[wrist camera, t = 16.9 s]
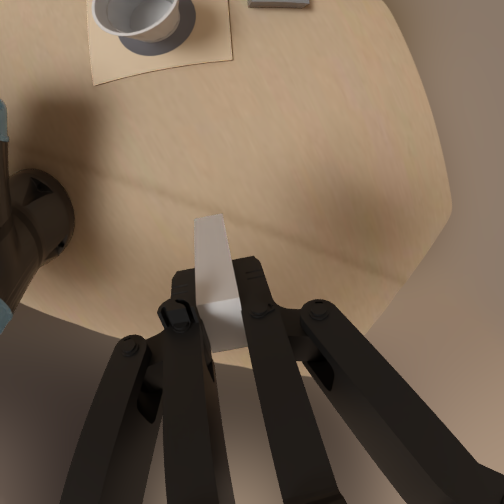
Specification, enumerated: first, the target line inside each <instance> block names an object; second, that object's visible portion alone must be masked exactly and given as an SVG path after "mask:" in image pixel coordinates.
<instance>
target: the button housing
mask: <svg viewBox="0 0 504 504" xmlns="http://www.w3.org/2000/svg"><path fill="white" fill-rule="evenodd" d="M308 4H309V0H248V7H291V8H303V7H305V6H306V5H308Z"/></svg>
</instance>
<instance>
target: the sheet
mask: <svg viewBox="0 0 504 504" xmlns="http://www.w3.org/2000/svg"><path fill="white" fill-rule="evenodd" d="M92 1H93V0H87V25H88V40H89V52H90V62H91V71H92V79H93V86H96V85H99V84H102V83H106V82H110V81H113V80H117V79H121V78H125V77H129V76H133V75H138V74H142V73H147V72H152V71H157V70H162V69H167V68H173V67H179V66H185V65H192V64H200V63H208V62H217V61H228V60H232V48H231V35H230V23H229V10H228V0H179V4H178V10H179V13H180V22H179V25H178V27H177V29H176V30H175V31H174V33H173V34H171V35H170V36H169V37H168V38H166V39H164V40H162V41H159V42H153V43H148V42H143V41H141V40H137V39H133V38H128V37H123V36H116V35H112V34H109V33H107V32H105V31H103V30H102V29H101V28H100V27H99V26H98V25H97V24H96V22H95V20H94V18H93V15H92Z"/></svg>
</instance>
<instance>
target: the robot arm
mask: <svg viewBox="0 0 504 504" xmlns="http://www.w3.org/2000/svg"><path fill="white" fill-rule="evenodd" d="M8 142H9V137H8V135H7V108H6V105H5V103H4V102H3V101H2V100H1V99H0V334H1V333H2V331H3V330H4V328H5V326H6V325H7V323H8V322H9V321H10V320H11V319H12V316H13V313H14V311H15V309H16V307H17V306H18V303H19V302H20V300H21V298H22V296H23V294H24V293H25V291H26V289H27V287H28V286H29V284H30V282H31V280H32V279H33V277H34V275H35V274H36V272H37V270H38V269H39V268H40V267H41V266H43V265H45V264H46V263H48V262H50V261H51V260H53V259H54V258H56V257H57V256H59V255H60V254H61V253H62V251H63V250H64V249H65V247H66V246H67V244H68V243H69V241H70V239H71V237H72V234H73V231H74V212H73V207H72V204H71V201H70V199H69V197H68V195H67V193H66V191H65V190H64V188H63V187H62V186H61V185H60V183H59V182H58V181H57V180H56V179H54V178H53V177H52V176H50V175H49V174H47V173H45V172H43V171H40V170H36V169H24V170H21V171H18V172H17V173H15V174H13V175H12V176H11V177H9V171H8ZM194 245H195V268H193V269H187V270H182V271H177V272H176V274H175V275H174V277H173V279H172V289H171V299H168V300H167V301H165V302H163V303H162V305H161V306H160V307H159V309H158V312H157V314H158V316H159V318H160V320H161V322H162V325H163V327H164V330H163V331H162V332H161V333H159V334H157V335H155V336H153V337H151V338H148V339H146V340H145V339H144V338H143V337H142V336H139V335H129V336H126V337H124V338H123V339H121V340H120V341H119V342H118V343H117V345H116V346H115V348H114V351H113V353H112V355H111V358H110V360H109V362H108V365H107V367H106V369H105V372H104V374H103V377H102V379H101V382H100V384H99V387H98V389H97V392H96V394H95V397H94V399H93V402H92V405H91V407H90V410H89V413H88V416H87V418H86V421H85V424H84V426H83V429H82V432H81V435H80V438H79V441H78V444H77V447H76V450H75V453H74V456H73V459H72V462H71V465H70V468H69V472H68V475H67V479H66V482H65V485H64V489H63V493H62V496H61V500H60V504H142V502H143V497H144V492H145V488H146V483H147V479H148V474H149V469H150V464H151V461H152V456H153V452H154V448H155V443H156V439H157V435H158V431H159V427H160V423H161V419H162V415H163V446H164V467H165V483H166V496H167V504H235V499H234V495H233V488H232V483H231V477H230V471H229V465H228V459H227V453H226V446H225V440H224V433H223V426H222V419H221V412H220V405H219V398H218V389H217V382H216V373H215V365H214V362H213V359H212V355H211V350H212V353H216V352H221V351H227V350H232V349H238V348H243V347H248V349H249V353H250V358H251V363H252V368H253V372H254V377H255V381H256V386H257V391H258V395H259V400H260V404H261V409H262V413H263V418H264V422H265V427H266V431H267V436H268V439H269V444H270V449H271V453H272V457H273V461H274V466H275V470H276V474H277V478H278V482H279V487H280V491H281V495H282V499H283V503H284V504H347V503H346V501H345V499H344V497H343V496H342V495H341V493H340V492H339V490H338V487H337V485H336V481H335V478H334V475H333V472H332V469H331V466H330V463H329V459H328V457H327V454H326V450H325V447H324V444H323V441H322V439H321V435H320V432H319V429H318V426H317V423H316V420H315V417H314V414H313V411H312V408H311V405H310V402H309V399H308V396H307V393H306V390H305V387H304V384H303V381H302V378H301V375H300V372H299V369H298V366H297V363H296V361H302V363H303V364H304V366H305V367H306V369H307V370H308V371H309V373H310V374H311V376H312V377H313V378H314V380H315V381H316V383H317V384H318V385H319V387H320V388H321V389H322V391H323V392H324V394H325V395H326V396H327V398H328V399H329V401H330V402H331V403H332V405H333V406H334V407H335V409H336V410H337V412H338V413H339V414H340V416H341V417H342V418H343V420H344V421H345V423H346V424H347V425H348V427H349V428H350V429H351V430H352V432H353V433H354V435H355V436H356V438H357V439H358V440H359V442H360V443H361V444H362V446H363V447H364V448H365V450H366V451H367V452H368V454H369V455H370V456H371V458H372V459H373V460H374V462H375V463H376V464H377V466H378V467H379V468H380V470H381V471H382V472H383V473H384V475H385V476H386V477H387V479H388V480H389V481H390V483H391V484H392V485H393V487H394V488H395V489H396V490H397V492H398V493H399V494H400V496H401V497H402V498H403V499H404V501H405V502H406V503H407V504H504V475H503V474H501V473H498V472H496V471H494V470H492V469H490V468H487V467H485V466H483V465H481V464H479V463H478V462H477V461H476V460H475V459H474V458H473V457H472V455H470V453H469V452H468V451H467V450H466V449H465V447H464V446H463V445H462V444H461V443H460V442H459V440H458V439H457V438H456V437H455V436H454V435H453V434H452V433H451V431H450V430H449V429H448V428H447V427H446V426H445V425H444V423H443V422H442V421H441V420H440V419H439V418H438V417H437V416H436V414H435V413H434V412H433V411H432V410H431V409H430V408H429V407H428V406H427V405H426V403H425V402H424V401H423V400H422V399H421V398H420V397H419V395H417V393H416V392H415V391H414V390H413V389H412V388H411V387H410V386H409V384H408V383H407V382H406V381H405V380H404V379H403V378H402V377H401V376H400V375H399V374H398V372H397V371H396V370H395V369H394V368H393V367H392V366H391V365H390V364H389V363H388V362H387V361H386V360H385V358H384V357H383V356H382V355H381V354H380V353H379V352H378V351H377V350H376V349H375V348H374V347H373V345H372V344H370V342H369V341H368V340H367V339H366V338H365V337H364V336H363V335H362V334H361V333H360V332H359V330H358V329H357V328H356V327H355V326H354V325H353V324H352V323H351V322H350V321H349V320H348V319H347V318H346V317H345V316H344V315H343V314H342V313H341V311H340V310H339V309H338V308H337V307H336V306H335V305H334V304H332V303H331V302H329V301H326V300H323V299H315V300H312V301H309V302H307V303H306V304H304V305H303V307H302V308H301V309H286V308H283V307H281V306H279V305H277V304H276V303H275V302H274V300H273V298H272V296H271V293H270V290H269V287H268V284H267V281H266V278H265V275H264V272H263V269H262V266H261V263H260V261H259V260H258V259H256V258H255V257H254V256H250V257H245V258H240V259H235V260H232V259H231V254H230V249H229V244H228V239H227V234H226V229H225V224H224V219H223V214H217V215H211V216H206V217H201V218H196V219H194Z"/></svg>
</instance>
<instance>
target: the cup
mask: <svg viewBox="0 0 504 504" xmlns="http://www.w3.org/2000/svg"><path fill="white" fill-rule="evenodd" d="M178 4H179V0H93V1H92V15H93V18H94V20H95V22H96V24H97V25H98V26H99V27H100V28H101V29H102V30H103V31H105V32H107V33H109V34H112V35H116V36H123V37H128V38H133V39H137V40H141V41H143V42H148V43H153V42H159V41H162V40H164V39H166V38H168V37H169V36H170V35H171V34H173V33H174V31H175V30H176V29H177V27H178V25H179V22H180V13H179V10H178Z"/></svg>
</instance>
